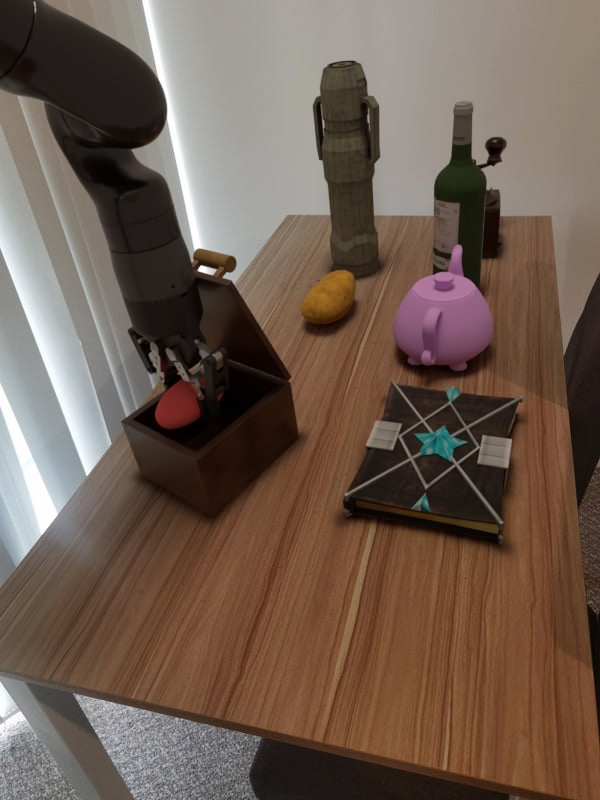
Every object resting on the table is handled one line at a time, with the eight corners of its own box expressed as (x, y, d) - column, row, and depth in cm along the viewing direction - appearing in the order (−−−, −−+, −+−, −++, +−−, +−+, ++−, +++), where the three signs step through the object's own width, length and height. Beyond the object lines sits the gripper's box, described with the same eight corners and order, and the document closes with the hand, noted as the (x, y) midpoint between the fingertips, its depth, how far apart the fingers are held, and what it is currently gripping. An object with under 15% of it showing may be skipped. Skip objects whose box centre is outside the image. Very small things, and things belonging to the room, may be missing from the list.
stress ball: (240, 421, 71) (236, 368, 70) (172, 434, 65) (166, 377, 64) (216, 417, 75) (212, 367, 74) (150, 429, 69) (144, 375, 68)
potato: (368, 299, 105) (366, 263, 101) (335, 340, 96) (331, 302, 92) (329, 294, 108) (325, 259, 104) (293, 332, 99) (287, 295, 95)
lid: (227, 285, 59) (255, 249, 60) (143, 262, 66) (169, 230, 68) (288, 381, 72) (310, 350, 74) (212, 353, 79) (233, 325, 81)
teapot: (414, 311, 100) (413, 240, 92) (502, 320, 95) (509, 245, 87) (377, 379, 86) (373, 302, 78) (478, 394, 81) (485, 313, 73)
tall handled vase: (376, 282, 110) (366, 67, 89) (318, 275, 115) (296, 70, 94) (393, 261, 116) (388, 56, 95) (338, 255, 121) (321, 59, 100)
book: (390, 400, 82) (389, 370, 79) (520, 416, 76) (524, 385, 73) (343, 518, 66) (339, 486, 63) (502, 550, 60) (507, 517, 57)
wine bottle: (422, 291, 105) (423, 105, 87) (457, 276, 108) (465, 93, 90) (454, 307, 99) (461, 112, 81) (489, 292, 102) (504, 99, 84)
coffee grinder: (501, 258, 111) (510, 158, 101) (440, 258, 114) (442, 161, 103) (499, 225, 123) (507, 132, 112) (444, 226, 126) (447, 136, 115)
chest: (213, 517, 69) (196, 460, 63) (141, 475, 76) (120, 421, 70) (299, 438, 78) (290, 382, 72) (228, 407, 85) (215, 354, 80)
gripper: (85, 282, 62) (133, 410, 72) (177, 313, 54) (216, 451, 64) (140, 253, 66) (178, 377, 77) (234, 278, 58) (262, 413, 69)
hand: (195, 410), depth 70 cm, fingers closed on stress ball, 5 cm apart
